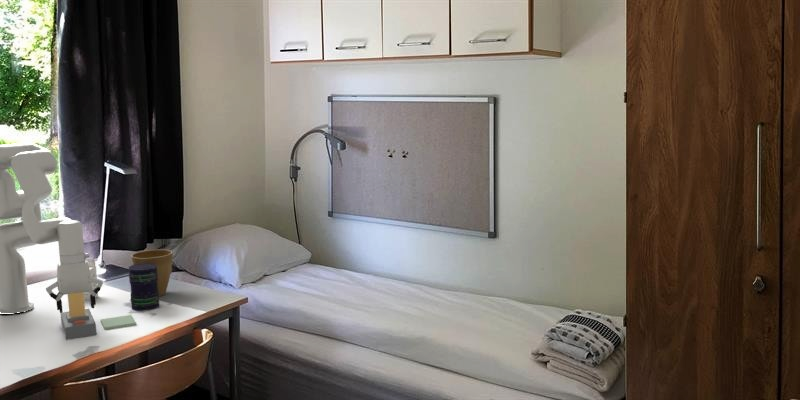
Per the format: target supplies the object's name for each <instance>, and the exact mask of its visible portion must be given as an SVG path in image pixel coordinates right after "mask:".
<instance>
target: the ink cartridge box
mask: <svg viewBox="0 0 800 400" xmlns="http://www.w3.org/2000/svg"><path fill="white" fill-rule="evenodd" d="M85 260H87V262H88V265H89V270H90V275H91V277H92V278H95V279H98V277H97V276H98V275H97V266H96V259H95V258H86V259H85ZM97 285H98V284H97V283H94V282H92V289H93V290H94V289H95V288H96V287H97ZM83 293H84V301H85V300H88V301H90V295H91V294H90V293H89V292H88V291H87V292H83ZM98 296H99V292H98V293H97V294H96V296H95V299H96V298H97V297H98Z"/></svg>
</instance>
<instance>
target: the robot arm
mask: <svg viewBox="0 0 800 400" xmlns="http://www.w3.org/2000/svg"><path fill="white" fill-rule="evenodd" d="M57 169H58V161H57V158H56V156H55V155H54V153H53V152H51V151H50V150H49V149H47V148H46V147H43V146H41V145H38V144H36V143H32V142H21V143H11V144H10V143H8V144H7V143H5V144H0V221H5V220H13V219H19V218H21V220H17V221H11V222H5V223H1V224H0V312H1V313H17V312H24V311H27V312H29V311H28V310H30V311H32V310H33V309H34V308H35V307H34V303H33V302H29V292H28V281H27V280H28V279H27V273H26V271H27V270H26V262H25V259H24V257H23V256H22V255H21V254H20V253H19V252H18V249H21V248H26V247H31V246H35V245H46V244H49V243H55V242H57V244H58V251H59V252H58V253H59V263H57V268H56V282H54V283H52V284H50V285H49V286H47V287H46V288H45V291H46V292H47V293H48V295H49V296H50V298H52V299H54V300H55V301H56V310H57V311H59V313H60V314H61V313H62V312H64V311H63V304H62V303H63V302H62V297H64V296H65V295H68V294H70V293H78V292H87V291H88V292H89V293H90V294H91V295H90V300H89V301H90V308H91V309H95V306H96V305H97V304H96V298H95V296H96V294H97V293H98V294H99V292H100V291H101V289H102V286H103V284H104V281H103V280H101V279H98V278H97V279H95V278H92V277H91V275H90V270H89V265H88V263H89V262H87V260H85V259H89V258H90V253H86V252H85V243H84V242H85V241H84V230H83V224H82V222H81V221H79V220H73V219H71V218H69V217H56V218H50V219H45V220H42V214H41V213H42V212H41V204H40V203H41V202H43V201H44V200H45V199H48V197H49V196H50V195H51V194H52V192H53V188H52V185H51V183H50V182H49V180H48V177H47V175H51V174H54V173H56V171H57ZM9 170H12V171H13V174H14V176H15V177H14V176H13V174H12V173H11V172H10V171H9ZM15 178H16V179H15ZM15 180H17V182H18V184H19V186H20V189H21V190H17V188H16V181H15ZM92 282H94V283H97V287H96V288H95V289H94V290H93V289H92ZM56 288H57V291H58V293H57V294H56V293H54V292H53V290H54V289H56ZM31 309H32V310H31ZM24 313H25V312H24Z"/></svg>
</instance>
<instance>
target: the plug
mask: <svg viewBox="0 0 800 400" xmlns="http://www.w3.org/2000/svg"><path fill="white" fill-rule="evenodd" d="M67 303H68V312H69V313H66V317H67V320H68V322H69V321H76V320H83V319H89V315H88V313H87V311H85V309H86V305H85V299H84V293H83V292H78V293H70V294H67Z"/></svg>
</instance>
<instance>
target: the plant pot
mask: <svg viewBox="0 0 800 400" xmlns="http://www.w3.org/2000/svg"><path fill="white" fill-rule="evenodd" d="M173 254H174V253H173V251H172V250H170V249H149V250H142V251H138V252H134V253H132V254H131V255H130V257H131V260H132V265H136V264H143V263H152V264H156V265H157V272H158V281H157V285H158V291H159V297H162V296H164V295H166V292H167V289H168V285H169V281H170V277H171V272H172V266H173V265H172V264H173Z"/></svg>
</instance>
